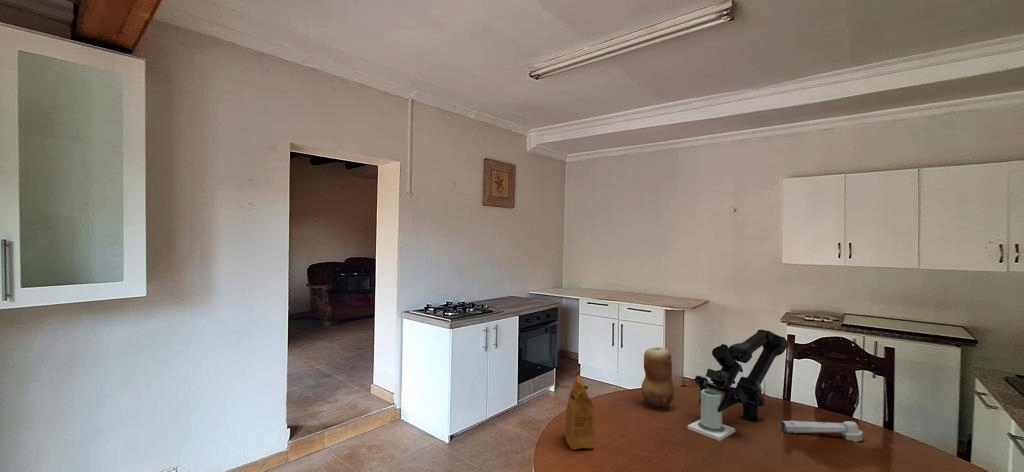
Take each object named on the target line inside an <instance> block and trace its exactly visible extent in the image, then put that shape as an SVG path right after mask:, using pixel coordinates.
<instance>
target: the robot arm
mask: <svg viewBox="0 0 1024 472" xmlns="http://www.w3.org/2000/svg"><path fill="white" fill-rule="evenodd" d="M761 347H762V351H761V353H760V355H759V356H758V358H757V360H756V362H755V363H754V365H753V366H752V369H751V371H750V372H749V374H748V376H746V377H745V376H741V377H740V378H739V380H738V382H737V383H736V378H737V376H738V374H739V372H740V373H743V372H744V370H743V367H742V364H747V363H748V362H749V361H750V360H751V359H752V358H753V353H754V352H756V351H757V350H758V349H760V348H761ZM788 347H789V341H788V340H787V339H786V337H785V336H780V335H778V334H776V333H774V332H772V331H770V330H765V329H758V330H757V332H756V333H754V334H753V335H751V336H750V337H749V338H747V339H745V340H744V341H743V342H739V343H734V344H732V345H730V346H728V344H724V343H721V344H720V345H719V346H716V347H714V348H713V349H711V356H712V357H713V358H714V359H715V361H716V362H717V363H718V365H719V366H720V367H721V368H720V369H716V370H714V369H711V368H707V370H706V374H705V377H704V376H702V375H696V376H695V377H694V380H693V381H694V382H695V383H696V385H697V386H698V387H699V391H700V393H699V394H700V395H699V400H698V402H699V403H698V404H699V405H700V406H701V391H702V390H703V389H711V390H716V391H719V392H720V393H722V394H723V397H722V402H721V404H720V406H719V408H718V412H721V411H722V412H723V411H725V410H726V409H728V408H730V407H732V406H734V405H738V404H741V405H742V407H741V408H742V413H741V414H738V417H739V418H742V419H745V420H748V421H752V422H754V423H757V422H758V421H761V420H762V419H763V416H761V415H759V414H760V412H759V411H760V408H761V407H764V405H765V402H766V399H765V397H764V396H763V394H762V392H763V389H762V386H761V384H762V382H763V381H764V379H765V377H766V375H767V373H768V372H769V370H770V367H771V365H772V364H773V362H774V361H775V359H776V358H777V357H778V356H780V355H782V354H784V352H785V351H786V350H787V348H788ZM740 363H742V364H740ZM708 379H710V381H709V380H708ZM735 384H736V385H735ZM732 385H735V387H734V386H732Z"/></svg>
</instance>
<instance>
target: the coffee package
mask: <svg viewBox="0 0 1024 472" xmlns="http://www.w3.org/2000/svg"><path fill="white" fill-rule="evenodd" d="M582 382H583V378H582V377H581V376H580V375H577V376H576V378H575V380H574V383H573V385H572V388H571V389H570V393H569V395H568V402H567V406H566V412H565V428H564V429H565V430H564V431H565V441H566V444H567V445H568V446H569V447H570V450H580V449H592V448H593V449H594V448H595V439H596V432H597V429H596V428H597V427H596V410H595V408H596V407H595V404H594V402H593V401H592V399H591V398H590V396H589V395H588V393H587V390H589V386H587V385H586V384H585V383H584V384H583V383H582Z"/></svg>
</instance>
